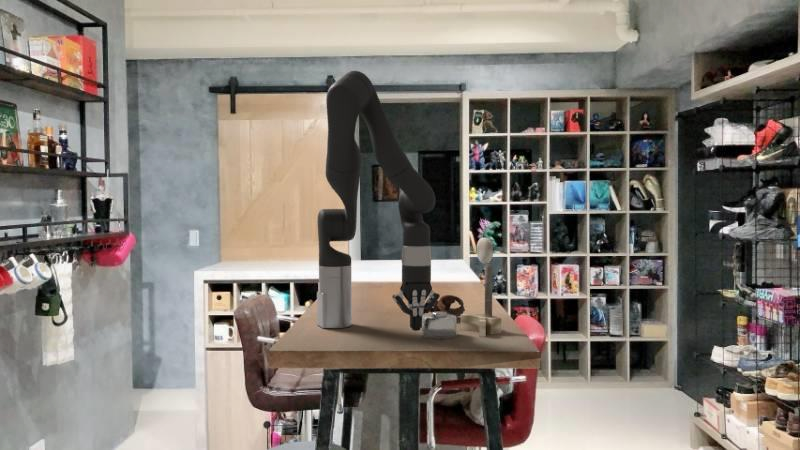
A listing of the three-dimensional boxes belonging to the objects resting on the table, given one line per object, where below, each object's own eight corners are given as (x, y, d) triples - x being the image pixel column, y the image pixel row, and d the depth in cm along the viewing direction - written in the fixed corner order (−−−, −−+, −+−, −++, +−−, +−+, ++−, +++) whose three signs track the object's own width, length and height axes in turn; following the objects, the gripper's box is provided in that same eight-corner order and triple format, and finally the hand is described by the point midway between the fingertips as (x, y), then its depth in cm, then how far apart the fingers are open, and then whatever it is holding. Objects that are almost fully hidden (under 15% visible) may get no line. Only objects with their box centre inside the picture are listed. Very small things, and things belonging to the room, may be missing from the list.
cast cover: (431, 340, 163) (431, 316, 162) (416, 333, 171) (416, 311, 171) (462, 337, 166) (462, 314, 166) (446, 330, 174) (446, 309, 174)
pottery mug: (463, 317, 197) (469, 296, 193) (457, 336, 189) (462, 315, 185) (426, 306, 199) (430, 286, 195) (418, 325, 191) (423, 303, 187)
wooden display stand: (480, 336, 166) (481, 239, 165) (459, 328, 177) (459, 236, 177) (505, 334, 169) (505, 238, 168) (482, 326, 180) (482, 236, 179)
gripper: (398, 265, 159) (397, 334, 160) (445, 263, 164) (445, 331, 165) (387, 262, 166) (386, 329, 166) (433, 261, 171) (432, 325, 172)
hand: (416, 330), depth 166 cm, fingers closed
